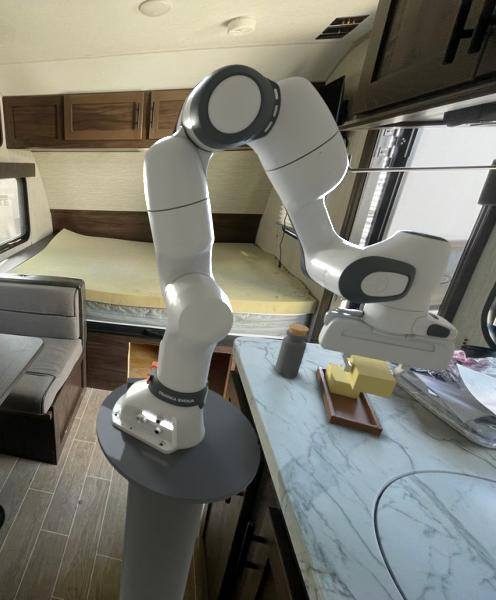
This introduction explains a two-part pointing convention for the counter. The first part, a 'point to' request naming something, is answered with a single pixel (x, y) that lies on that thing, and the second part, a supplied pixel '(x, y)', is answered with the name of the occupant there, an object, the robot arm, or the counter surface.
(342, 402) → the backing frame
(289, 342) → the bottle
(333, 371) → the seated pad
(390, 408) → the counter surface
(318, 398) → the counter surface
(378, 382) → the foam pad
